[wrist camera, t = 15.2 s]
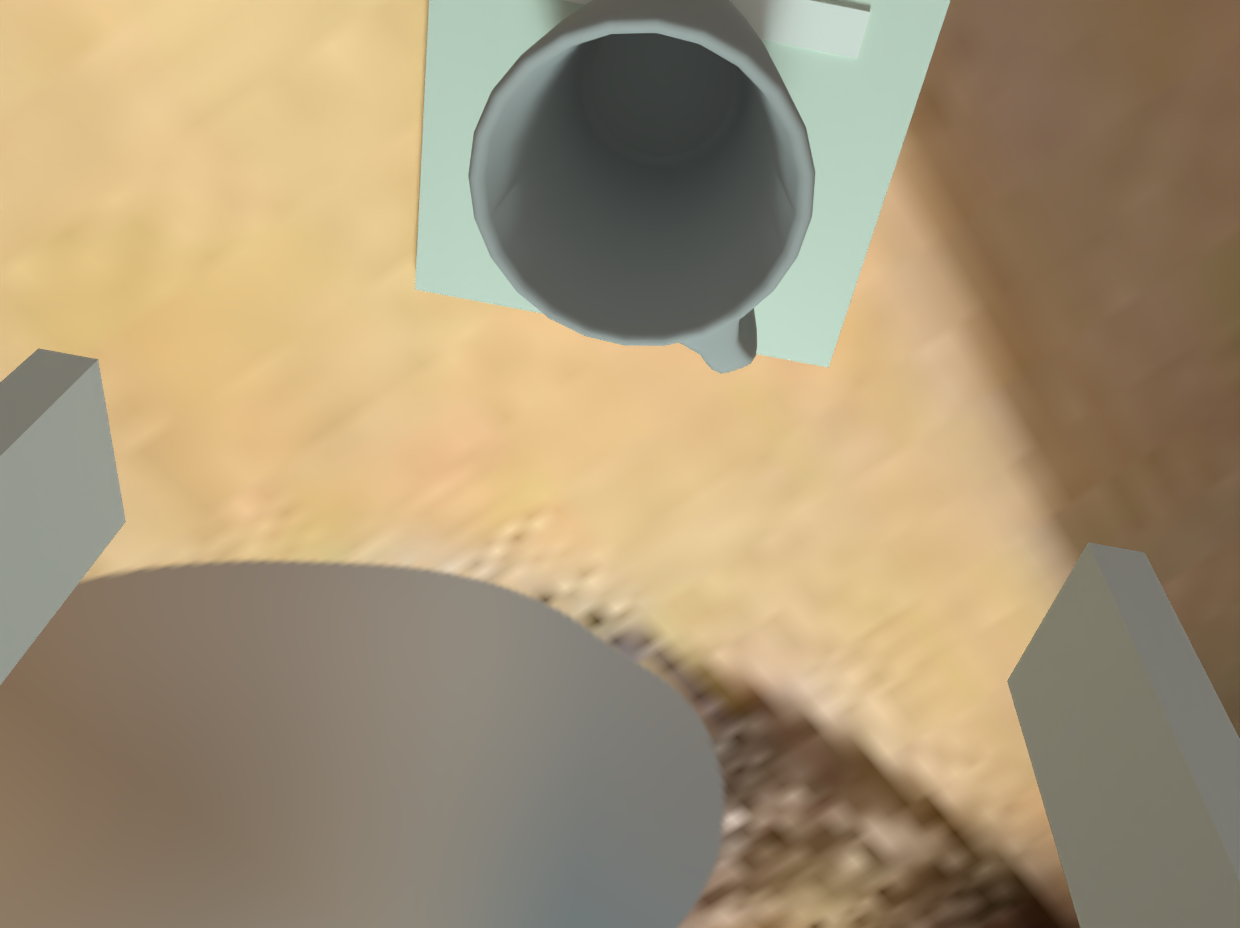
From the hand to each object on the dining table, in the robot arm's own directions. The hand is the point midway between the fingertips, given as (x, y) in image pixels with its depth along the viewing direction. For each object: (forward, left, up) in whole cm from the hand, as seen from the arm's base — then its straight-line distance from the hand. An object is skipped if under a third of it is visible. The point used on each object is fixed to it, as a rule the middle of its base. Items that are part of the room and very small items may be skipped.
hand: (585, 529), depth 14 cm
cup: (0, +1, -19) cm, 19 cm away
